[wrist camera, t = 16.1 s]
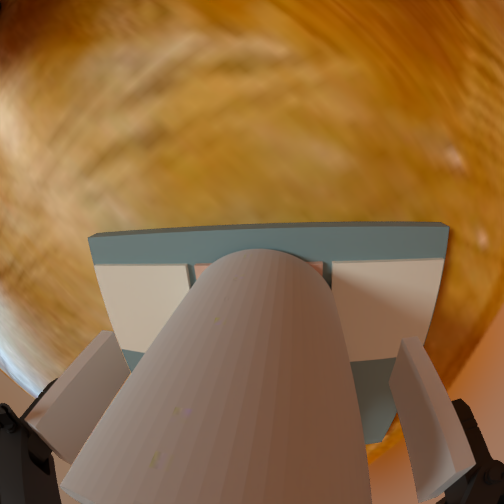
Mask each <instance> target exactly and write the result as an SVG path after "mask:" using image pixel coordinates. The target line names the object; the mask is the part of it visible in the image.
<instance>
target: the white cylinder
mask: <svg viewBox="0 0 504 504" xmlns="http://www.w3.org/2000/svg"><path fill="white" fill-rule="evenodd" d="M60 488H61V489H62V490H64V491H65V492H66V493H67V494H68V495H70V496H71V497H72V498H74V499H75V500H77V501H78V502H80V503H81V504H372V499H371V488H370V479H369V470H368V462H367V454H366V447H365V441H364V434H363V428H362V422H361V416H360V410H359V405H358V399H357V394H356V389H355V384H354V379H353V374H352V370H351V365H350V360H349V356H348V351H347V347H346V343H345V339H344V334H343V330H342V326H341V322H340V318H339V314H338V311H337V307H336V303H335V299H334V296H333V293H332V291H331V289H330V287H329V285H328V284H327V282H326V281H325V279H324V278H323V277H322V276H321V275H320V274H319V272H317V271H316V270H315V269H314V268H313V267H312V266H310V265H309V264H308V263H306V262H305V261H303V260H301V259H299V258H297V257H295V256H293V255H290V254H287V253H284V252H281V251H276V250H270V249H247V250H241V251H237V252H234V253H231V254H228V255H226V256H223V257H222V258H220V259H218V260H216V261H215V262H213V263H212V264H211V265H209V266H208V267H207V268H206V269H205V270H204V271H203V272H202V274H201V275H200V276H199V278H198V279H197V280H196V282H195V283H194V285H193V286H192V287H191V289H190V290H189V291H188V293H187V294H186V296H185V297H184V298H183V300H182V301H181V303H180V304H179V305H178V307H177V308H176V310H175V311H174V312H173V314H172V315H171V317H170V318H169V319H168V321H167V322H166V324H165V325H164V327H163V328H162V329H161V331H160V332H159V334H158V335H157V337H156V338H155V339H154V341H153V342H152V344H151V345H150V347H149V348H148V350H147V351H146V352H145V354H144V355H143V357H142V358H141V360H140V361H139V363H138V364H137V366H136V367H135V369H134V370H133V371H132V373H131V374H130V376H129V377H128V379H127V380H126V382H125V383H124V385H123V386H122V388H121V389H120V391H119V392H118V394H117V395H116V397H115V398H114V400H113V401H112V403H111V405H110V406H109V408H108V409H107V411H106V412H105V414H104V415H103V417H102V418H101V420H100V421H99V423H98V425H97V426H96V428H95V429H94V431H93V432H92V434H91V436H90V437H89V439H88V440H87V442H86V444H85V445H84V447H83V448H82V450H81V452H80V453H79V455H78V456H77V458H76V460H75V461H74V463H73V465H72V467H71V468H70V470H69V471H68V473H67V475H66V476H65V478H64V480H63V481H62V483H61V485H60Z"/></svg>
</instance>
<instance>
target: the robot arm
mask: <svg viewBox="0 0 504 504" xmlns="http://www.w3.org/2000/svg"><path fill="white" fill-rule="evenodd" d="M0 8H1V3H0ZM129 374H130V370H129V368H128V366H127V363H126V361H125V359H124V356H123V354H122V352H121V349H120V347H119V344H118V342H117V339H116V336H115V334H114V332H112V331H106V330H102V331H101V332H100V333H99V334H98V335H97V336H96V337H95V338H94V339H93V341H92V342H91V343H90V344H89V345H88V346H87V347H86V348H85V349H84V350H83V351H82V352H81V354H80V355H79V356H78V357H77V358H76V359H75V360H74V361H73V362H72V364H71V365H70V366H69V367H68V368H67V369H66V370H65V371H64V373H63V374H62V375H61V376H60V377H59V378H57V379H55V380H53V381H52V382H50V383H49V384H48V385H47V386H46V388H45V389H44V390H43V392H41V393H40V395H39V396H38V398H36V399H35V400H34V402H33V403H32V404H31V405H30V406H29V408H28V409H27V410H26V411H25V413H24V414H23V415H22V416H21V417H20V418H18V417H17V416H16V414H15V413H14V412H13V410H12V409H11V408H10V407H9V405H7V404H5V403H1V404H0V504H61V499H60V495H59V490H58V484H57V478H56V472H55V465H54V459H53V456H52V455H51V452H52V451H53V452H54V453H55V454H56V455H57V456H58V457H59V458H61V459H63V460H64V461H66V462H67V463H69V464H72V463H73V461H74V460H75V458H76V456H77V455H78V453H79V452H80V450H81V448H82V447H83V445H84V443H85V442H86V440H87V439H88V437H89V435H90V434H91V432H92V431H93V429H94V428H95V426H96V424H97V423H98V421H99V420H100V418H101V417H102V415H103V413H104V412H105V410H106V409H107V407H108V406H109V404H110V403H111V401H112V400H113V398H114V397H115V395H116V394H117V392H118V391H119V389H120V388H121V386H122V384H123V383H124V381H125V380H126V378H127V377H128V376H129ZM388 383H389V386H390V389H391V392H392V396H393V399H394V402H395V406H396V409H397V412H398V416H399V419H400V423H401V426H402V430H403V434H404V438H405V442H406V446H407V450H408V454H409V458H410V462H411V467H412V471H413V476H414V481H415V486H416V492H417V497H418V503H420V502H423V501H427V500H429V499H432V498H435V497H437V496H439V495H440V494H441V493H443V492H445V497H444V498H442V499H441V500H440V501H438V502H437V503H436V504H504V464H503V463H502V462H500V461H498V460H493V459H492V457H491V456H490V453H489V451H488V448H487V446H486V443H485V441H484V438H483V436H482V434H481V431H480V429H479V427H477V422H476V420H475V419H474V416H473V413H472V411H471V409H470V407H469V406H468V405H467V404H466V403H465V402H464V401H463V400H462V399H457V400H454V401H451V400H450V398H449V396H448V394H447V392H446V389H445V387H444V385H443V383H442V381H441V379H440V377H439V375H438V373H437V371H436V369H435V367H434V366H433V364H432V362H431V360H430V358H429V356H428V354H427V352H426V351H425V349H424V347H423V345H422V343H421V342H420V340H419V338H418V336H415V337H407V338H402V341H401V344H400V348H399V351H398V354H397V358H396V361H395V364H394V367H393V370H392V373H391V376H390V379H389V382H388Z"/></svg>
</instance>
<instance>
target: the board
mask: <svg viewBox="0 0 504 504" xmlns="http://www.w3.org/2000/svg"><path fill="white" fill-rule="evenodd" d="M448 235H449V226H447V225H445V224H443V223H441V222H306V223H269V224H241V225H218V226H198V227H179V228H162V229H147V230H133V231H119V232H106V233H96V234H94V235H92V236H90V237H88V242H89V246H90V250H91V255H92V259H93V263H94V268H95V272H96V276H97V280H98V283H99V287H100V290H101V293H102V297H103V300H104V303H105V306H106V309H107V312H108V315H109V318H110V321H111V324H112V327H113V329H114V332H115V335H116V337H117V340H118V343H119V345H120V348H121V349H122V352H123V354H124V357H125V359H126V361H127V364H128V366H129V368H130V371H131V373H132V371H133V370H134V369H135V367H136V366H137V364H138V363H139V361H140V360H141V358H142V357H143V355H144V354H145V352H146V351H147V350H148V348H149V347H150V345H151V344H152V342H153V341H154V339H155V338H156V337H157V335H158V334H159V332H160V331H161V329H162V328H163V327H164V325H165V324H166V322H167V321H168V319H169V318H170V317H171V315H172V314H173V312H174V311H175V310H176V308H177V307H178V305H179V304H180V303H181V301H182V300H183V298H184V297H185V296H186V294H187V293H188V291H189V290H190V289H191V287H192V286H193V285H194V283H195V282H196V280H197V279H198V278H199V276H200V275H201V274H202V272H203V271H204V270H205V269H206V268H207V267H208V266H209V265H211V264H212V263H213V262H215V261H216V260H218V259H220V258H222V257H223V256H226V255H228V254H231V253H234V252H237V251H241V250H247V249H270V250H276V251H281V252H284V253H287V254H290V255H293V256H295V257H297V258H299V259H301V260H303V261H305V262H306V263H308V264H309V265H310V266H312V267H313V268H314V269H315V270H316V271H317V272H319V274H320V275H321V276H322V277H323V278H324V279H325V281H326V282H327V284H328V285H329V287H330V289H331V291H332V293H333V296H334V299H335V303H336V307H337V311H338V314H339V318H340V322H341V326H342V330H343V334H344V339H345V343H346V347H347V351H348V356H349V360H350V365H351V370H352V374H353V379H354V384H355V389H356V394H357V399H358V405H359V410H360V416H361V422H362V428H363V434H364V441H365V444H371V443H378V442H382V440H383V438H384V436H385V434H386V433H387V431H388V429H389V427H390V425H391V423H392V421H393V419H394V417H395V415H396V413H397V409H396V406H395V402H394V399H393V396H392V392H391V389H390V386H389V383H388V382H389V379H390V376H391V373H392V370H393V367H394V364H395V361H396V358H397V354H398V351H399V348H400V344H401V341H402V338H407V337H415V336H418V338H419V340H420V342H421V343H422V345H423V346H424V343H425V340H426V337H427V334H428V330H429V327H430V324H431V320H432V316H433V313H434V309H435V305H436V301H437V297H438V292H439V288H440V283H441V278H442V273H443V268H444V262H445V256H446V249H447V242H448Z"/></svg>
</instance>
